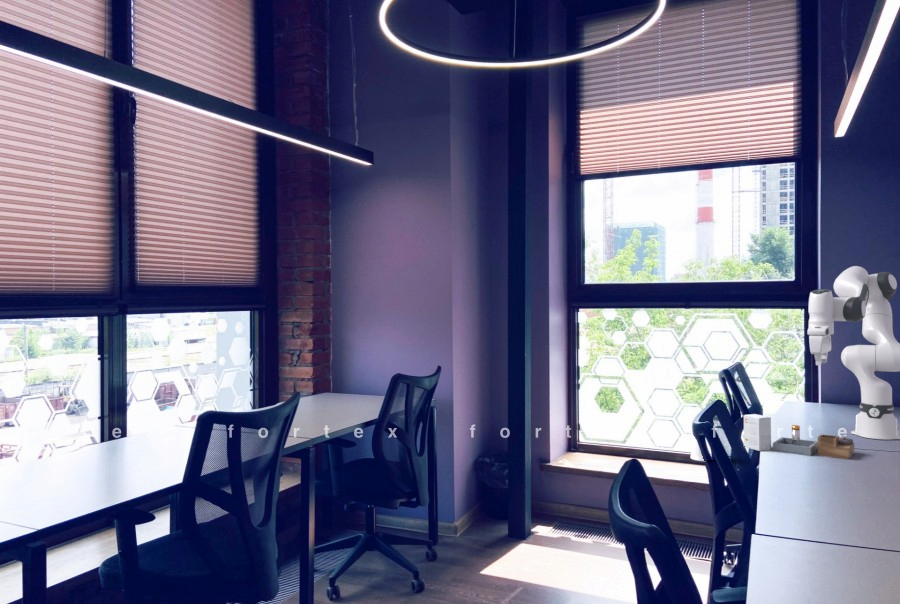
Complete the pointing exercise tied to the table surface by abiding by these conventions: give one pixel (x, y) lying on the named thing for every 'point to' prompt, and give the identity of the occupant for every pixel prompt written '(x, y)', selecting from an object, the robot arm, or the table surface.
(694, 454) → the mug
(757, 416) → the small box
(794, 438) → the lock pin
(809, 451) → the tray
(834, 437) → the wooden holder block
